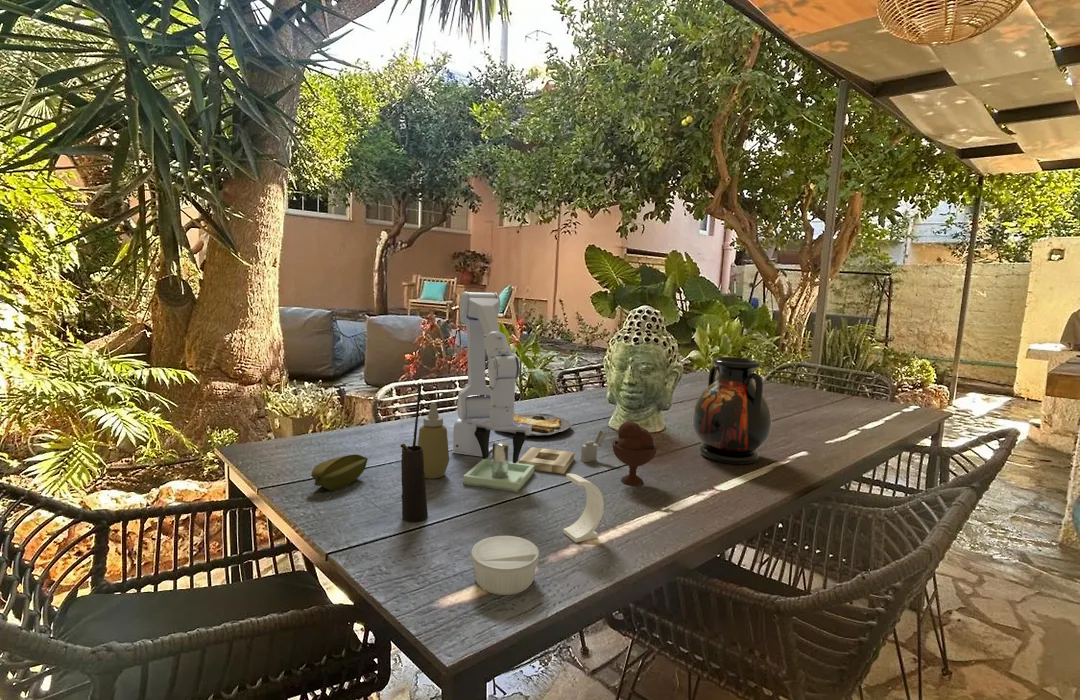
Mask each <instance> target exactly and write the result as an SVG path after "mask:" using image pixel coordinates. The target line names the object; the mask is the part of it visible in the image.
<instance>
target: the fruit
mask: <svg viewBox="0 0 1080 700" xmlns="http://www.w3.org/2000/svg"><path fill="white" fill-rule="evenodd" d="M368 461H369V460H368V457H365V456H363V455H361V454H349V455H344V456H338V457H334V458H330V459H328V460H326V461H323V462H320V463H318V464H317V465H316V466H315V467H313V469H312V470H311V475H310V476H311V477H312V478H313V479H314V486H318V487H322V488H324V489H326V490H329V491H336V490H339V489H342V488H344V487H347V486H349V485H350V484H352V483H353V482H354V481H356V480H357V479H358V478H359V477H360V476H361V475H362V474H363V473H364V471H365V470H366V469H365V468H366V466H367V463H368Z"/></svg>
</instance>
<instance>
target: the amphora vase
mask: <svg viewBox="0 0 1080 700" xmlns="http://www.w3.org/2000/svg"><path fill="white" fill-rule="evenodd" d="M712 363H713V364H714V366H712V367H711V369H710V371H709V375H708V383H707V384H708V386H707V387H706V389H704V391H702V392H701V394H700V395H699V396H698V398H697V399H696V402H695V405H694V408H693V411H692V415H691V416H692V417H691V419H692V421H691V423H692V424H691V425H692V428H693V432H694V433H695V436H696V437H697V438H698V440H699V441H700V442H701V443H700V445H699V446H698V451H699V453H700V454H701V455H702V456H703V457H705V458H707V459H709V460H712V461H715V462H719V463H721V464H722V463H723V464H728V465H729V464H730V465H748V464H752V463H754V462H756V461H757V460H759V458H760V457H759V456H760V454H759V452H758V449H760V448H761V447H762V446H764V445H765V443H767V441H768V439H769V438H770V435H771V432H772V425H773V422H772V412H771V409H770V406H769V403H768V401H767V399H766V398H765V396H764V395H763V393H764V392H763V391H764V382H763V379H762V377H761V375H759V374H758V373H755V372H754V370H755V369H759V368H760V367H761V365H762V364H761V362H759V361H758V360H754V359H752V358H751V359H750V358H745V357H743V358H742V357H736V356H735V357H734V356H719V357H715V358H713V359H712ZM717 372H718V377H717V378H716V375H717ZM753 372H754V373H753ZM754 382H755V383H754Z"/></svg>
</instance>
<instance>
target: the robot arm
mask: <svg viewBox="0 0 1080 700" xmlns="http://www.w3.org/2000/svg"><path fill="white" fill-rule="evenodd" d="M500 310H501V298H500V295H499V294H498V293H497V292H496V291H494V292H479V291H478V292H473V291H472V292H471V291H470V292H469V291H463V292H462V293H461V295H460V298H459V319H460V323H461V324H464V325H465V326H466V341H467V345H466V348H467V351H466V352H467V384H466V386H464V387H463V388H462V389H461V390H460V391H459V392H458V395H457V405H456V412H457V417H458V418H457V419H456V420H455V422H454V425H453V430H452V431H453V432H452V435H453V437H452V451H451V453H453V454H461V455H465V456H466V455H467V456H474V457H482V460H483V459H488V458H489V453H490V452H492V451H493V446H490V443H489V442H490V434H491V431H496V432H504V433H511V434H514V433H516V434H514V435H513V436H512V437H511V438H512V445H513V446H512V448H513V449H512V450H513V451H512V462H513V463H519V457H520V455H521V450H522V448H523V446H524V443H525V441H526V439H527V437H528V436H527V435H530V434H531V430H532V426H531V425H525V424H521V423H516V422H514V413H515V397H516V396H515V391H516V380H517V379H518V378H519V376H520V361H519V357H518V356H517V355H516V354H515V353H514V352H512V351H511V348H510V345H509V342H508V339H507V336H506V334H505V333H503V332H501V331H500V324H499V320H498V315H499V313H500ZM486 356H487V359H488V364H487V372H488V383H489V386H490V387H489V386H488V385H487V383H486Z"/></svg>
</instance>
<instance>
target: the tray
mask: <svg viewBox="0 0 1080 700" xmlns="http://www.w3.org/2000/svg"><path fill="white" fill-rule="evenodd" d="M534 474H535V470H534V465H529V464H521V463H519V462H517V463H513V461H509V466H508V477H507V478H504V479H497V478H493V477H492V458H491V459H490V458H489V459H488V458H486V459H483V458H482V459H481V460H480V461H479V462H477V464H475V465H474V466H473V467H472V468H471V469H469V470H468V471H467V472H466V473H465V474H463V475H462V485H467V486H475V487H480V488H481V487H482V488H489V489H494V490H495V489H496V490H501V491H509V492H515V493H519V492H520V491H521V489H523V487H524V486H525V485H526V483H527V482H528V481H529V480H530V478H532V476H533V475H534Z"/></svg>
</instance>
